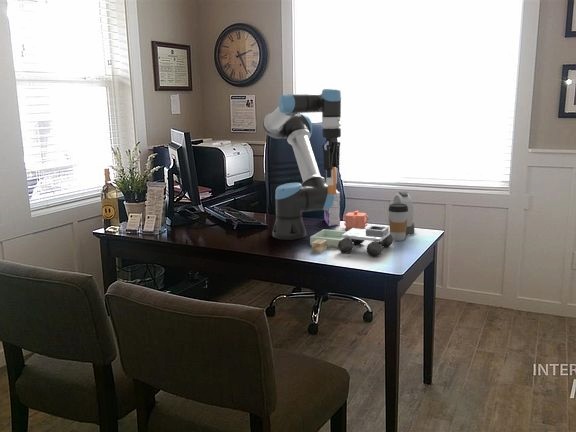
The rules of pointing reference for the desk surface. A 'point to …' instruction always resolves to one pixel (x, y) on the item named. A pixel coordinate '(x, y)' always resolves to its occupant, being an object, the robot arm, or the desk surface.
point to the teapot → (355, 220)
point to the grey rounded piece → (405, 199)
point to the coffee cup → (398, 221)
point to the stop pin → (333, 187)
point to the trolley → (373, 233)
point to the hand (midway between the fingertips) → (331, 184)
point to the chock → (319, 245)
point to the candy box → (333, 211)
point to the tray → (328, 237)
